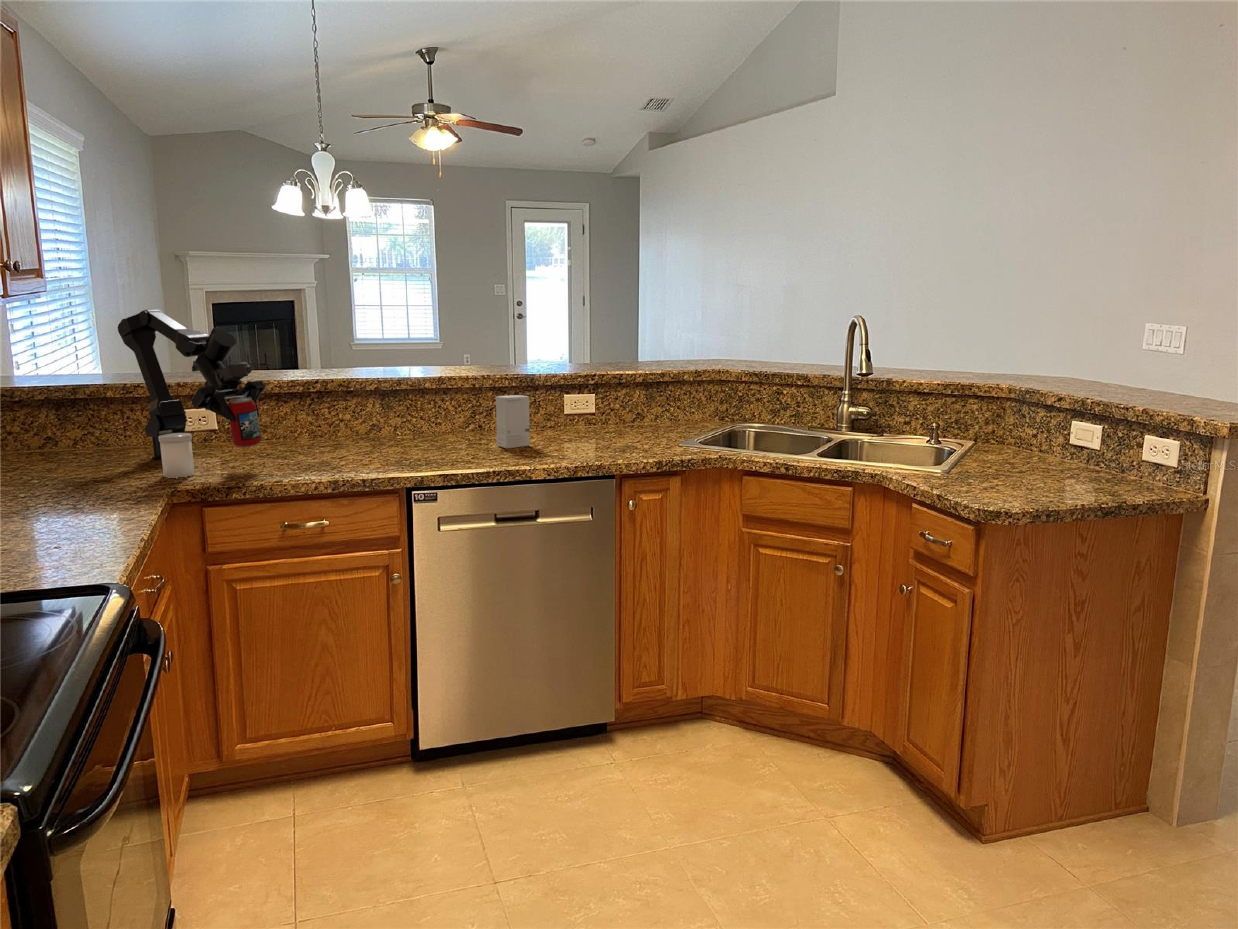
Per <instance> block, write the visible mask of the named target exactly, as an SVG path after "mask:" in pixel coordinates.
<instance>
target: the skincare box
mask: <svg viewBox="0 0 1238 929" xmlns="http://www.w3.org/2000/svg"><path fill="white" fill-rule="evenodd" d="M495 406H496V407H495V409H496V410H495V414H496V419H495V420H496V422H495V423H496V446H498V447H500V448H504V449H507V450H509V449H513V448H515V449H516V448H520V447H529V446H531V445H530V396H527V395H521V394H517V395H516V394H515V395H514V394H512V395H498V396H497V395H496V396H495Z"/></svg>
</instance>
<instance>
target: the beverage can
mask: <svg viewBox="0 0 1238 929" xmlns="http://www.w3.org/2000/svg"><path fill="white" fill-rule="evenodd" d="M227 405H228V406H229V408H230V409H231V411H232V412H233V414H234V416H235V418H236V421H235V422H232V421H230V420H229V425H230V431H231V437H232V441H233V445H234V446H237V447H238V448H250V447H251V448H252V447H254V446H258V445H259V443H260V442H262V435H261V434H262V433H261V428H260V423H259V417H258V416H257V410H256V404H255V403H254V402H253V400H252V398H250V397H234V398H230V399H229V402H228V403H227Z"/></svg>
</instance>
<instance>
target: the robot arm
mask: <svg viewBox="0 0 1238 929" xmlns="http://www.w3.org/2000/svg"><path fill="white" fill-rule="evenodd" d="M117 331H118V334H119V335H120V338H121V340H122V342H123V344H124V345H125V346H126V347H127V348H128V349H129V350H131V351H132V352H133V353H134V355H135V358H136V361H137V362H136V363H137V364H138V367H139V370H140V372H141V376H142V378H143V381H144V384H145V386H146V390H147V392H148V395H149V399H150V400H151V404H150V406H149V410H148V414H149V418H150V419H148V421H147V423H146V426H145V427H144V432H145V435H146V437H149V438H150V437H151V440H152V449H153V456H151V459H162V457H161V447H160V442H159V436H160V435H164V434H172V433H186V427H187V426H186V425H187V415H186V414H187V411H186V410H185V409H184V406H183V402H182V400H180V399H175V398H173V396H172V395H171V392H170V390H169V386H168V385H167V381H166V378H165V376H164V373H163V371H162V367H161V365H160V361H159V359H158V356H157V353H156V350H155V346H154V345H155V342H156V338H157V335H156V332H158V333H159V334H161V335H162V336H163V337H165V338H167V339H168V340H170V341H171V342H173V343H174V344H175V349H176V350H177V351H178V352H179V353H180V354H181V355H182V356H183V357H186V358H191V357H192V358H193V357H196V358H195V360H192V366H191V371H192V372H199V373H200V374H201V375H202V377H203V379H204V380H205V382H204V386H199V387H198V388H197V390H195V393H194V395H193V396H192V399H191V404H192V406H193V407H194V409H196V410H202V409H205V411H211V412H212V413H215V414H216V415H219V416H221V417H222V418H225V419H227V420H228V421H229V422H230V421H232V422H235V421H236V418H235V416H234V414H233V412H232V411H231V409H230V408H229V406H228V403H227V402H226V399H233V398H241V397H250V398H252V400H253V402H254V403H255V404H256V410H257V416H258V418H259V417H260V413H259V408H258V404H257V400H259V398H260V397H261V395H262V394H263V392H264V391H265V389H266V388H267V387H266V385H265V383H264V382H263V381H262V380H258V379H257V380H256V379H255V380H250V381H247V382H246V383H245V385H244V386H243V387H240V388H239V386H240V385H242V379H244V378H245V377H248V376H249V374H252V368H251V365H250V364H249V363H248V362H247V361H241V362H239V363H235V364H229V365H227V366H225V365H224V364H223V361H226V360H227V359H228V358H229V355H230V354H231V352H232V351H233V349H234V347H235V345H236V344H237V340H236V338H235V336H234V335H232V334H230V333H229V332H228V331H224V330H222V328H221V327H213V328H212V329H211V331H210V333H209V334H207V333H204V332H201V331H198V330H193V329H188V328H187V327H185V326H184V325H183V324H180V323H179V322H178V321H176V320H175V319H173V318H171V317H170V316H168V315H167V314H166V313H164V311H163V310H161V309H159V308H157V309H144V310H141V311H140V312H138V313H137V314H134V315H131V316H128V317H125V318H122V319H121V321H120V322H119V324H117Z"/></svg>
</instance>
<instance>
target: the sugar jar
mask: <svg viewBox="0 0 1238 929" xmlns="http://www.w3.org/2000/svg"><path fill="white" fill-rule="evenodd" d="M192 436H193V435H192V433H189V432H185V433H172V434H164V435H160V436H159V442H160V447H161V457H162V458H161V464H162V473H163V478H164V477H168V478H167V479H169V478H176V477H185V476H190V477H193V476H195V475H194V473H195V466H194V455H193V445H192V439H193V437H192ZM192 475H193V476H192ZM185 478H186V477H185ZM176 479H177V478H176Z"/></svg>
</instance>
